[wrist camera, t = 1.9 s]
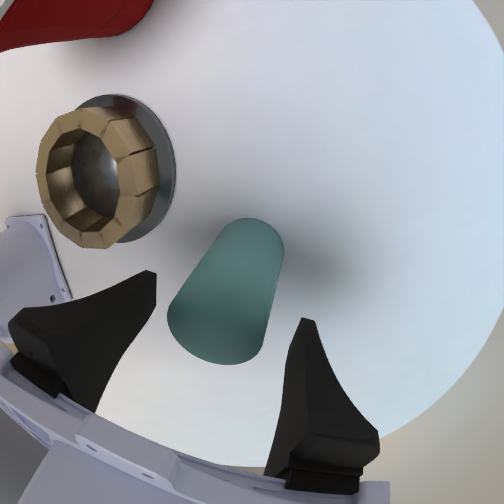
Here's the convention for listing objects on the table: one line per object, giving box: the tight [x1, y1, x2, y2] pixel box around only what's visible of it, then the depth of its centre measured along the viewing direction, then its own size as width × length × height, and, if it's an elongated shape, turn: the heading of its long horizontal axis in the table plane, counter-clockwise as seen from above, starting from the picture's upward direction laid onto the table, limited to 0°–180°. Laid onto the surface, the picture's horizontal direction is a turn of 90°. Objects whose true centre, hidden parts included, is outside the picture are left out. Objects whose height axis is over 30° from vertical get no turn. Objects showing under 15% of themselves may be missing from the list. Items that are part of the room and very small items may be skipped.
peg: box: [167, 218, 284, 365], centre depth 16 cm, size 4×4×8 cm
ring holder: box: [36, 95, 176, 249], centre depth 17 cm, size 11×11×3 cm
